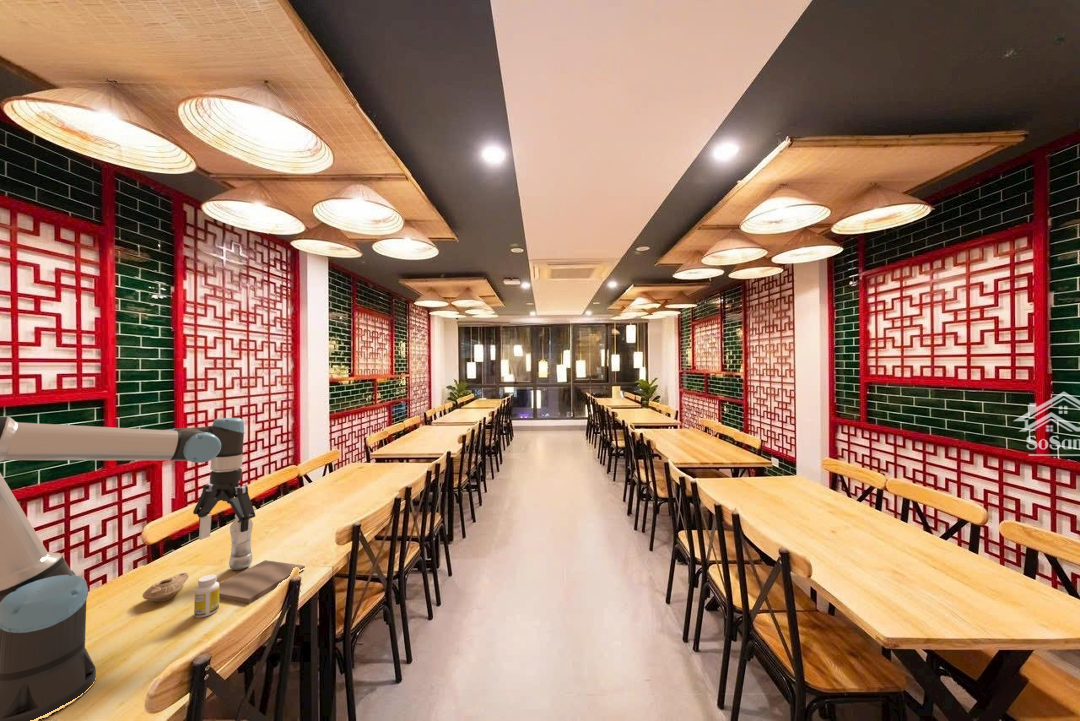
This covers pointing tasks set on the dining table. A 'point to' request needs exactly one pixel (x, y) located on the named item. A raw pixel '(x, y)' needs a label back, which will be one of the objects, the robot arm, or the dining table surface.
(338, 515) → the dining table surface
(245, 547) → the plastic bottle
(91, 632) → the dining table surface
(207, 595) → the supplement bottle
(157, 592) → the pottery oil lamp
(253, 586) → the serving board
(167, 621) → the dining table surface
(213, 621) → the dining table surface
